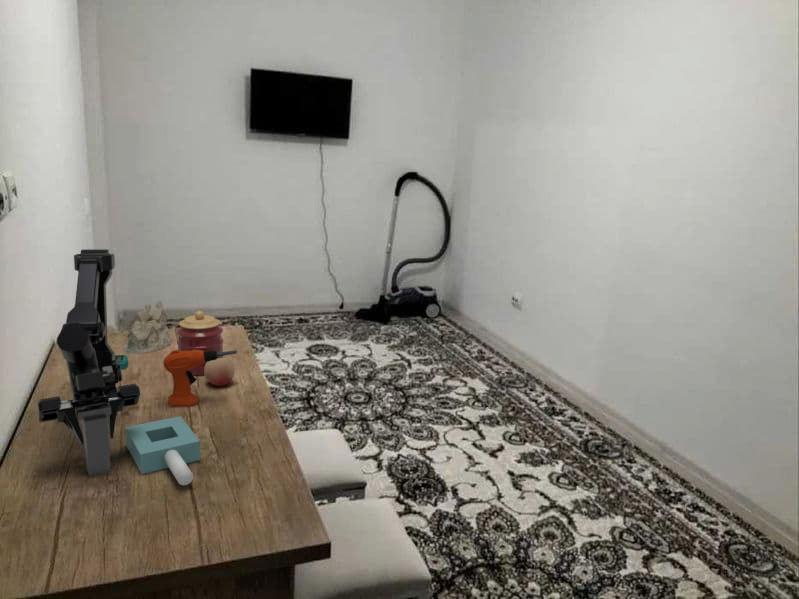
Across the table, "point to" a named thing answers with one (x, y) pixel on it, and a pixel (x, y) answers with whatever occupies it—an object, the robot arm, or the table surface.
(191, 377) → the toy drill
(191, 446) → the block
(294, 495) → the table surface
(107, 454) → the grey t-shaped bar
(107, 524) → the table surface
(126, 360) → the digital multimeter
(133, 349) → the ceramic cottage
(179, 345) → the canister
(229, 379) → the fruit
